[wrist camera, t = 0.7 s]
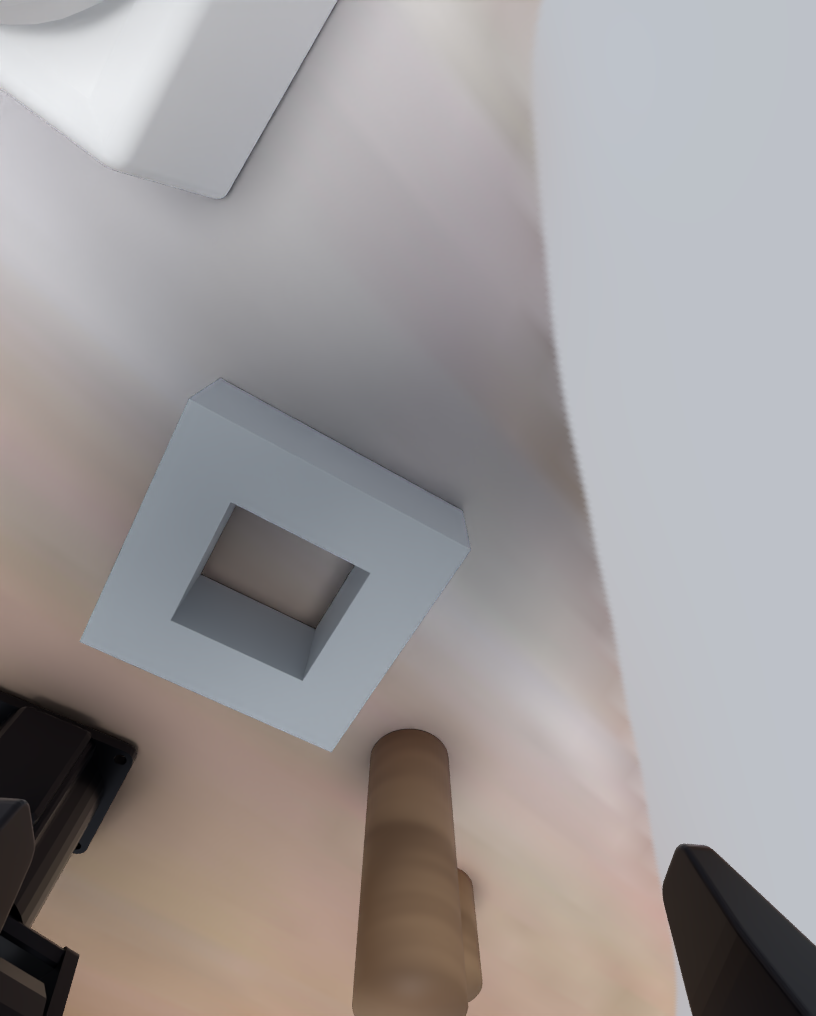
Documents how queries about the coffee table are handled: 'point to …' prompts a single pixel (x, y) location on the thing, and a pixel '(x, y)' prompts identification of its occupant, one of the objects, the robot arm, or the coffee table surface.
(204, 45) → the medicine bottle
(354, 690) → the collar block
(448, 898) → the long dowel
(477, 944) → the short stub
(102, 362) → the coffee table surface
